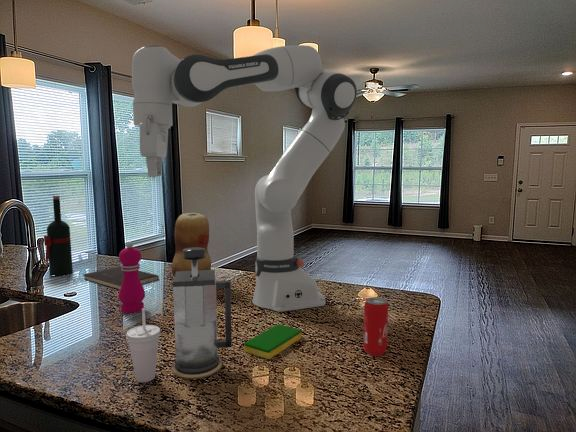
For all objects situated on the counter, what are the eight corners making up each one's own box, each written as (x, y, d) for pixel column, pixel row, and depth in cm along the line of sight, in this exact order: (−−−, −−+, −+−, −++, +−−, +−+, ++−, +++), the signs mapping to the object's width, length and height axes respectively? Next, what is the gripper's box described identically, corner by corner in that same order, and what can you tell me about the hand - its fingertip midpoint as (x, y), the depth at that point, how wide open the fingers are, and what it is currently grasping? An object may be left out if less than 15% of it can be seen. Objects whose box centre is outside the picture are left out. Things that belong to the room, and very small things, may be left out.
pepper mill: (137, 315, 117) (133, 245, 114) (113, 313, 118) (110, 244, 116) (150, 306, 124) (147, 240, 121) (128, 305, 125) (125, 239, 123)
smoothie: (165, 369, 86) (163, 304, 85) (157, 385, 80) (154, 315, 78) (134, 369, 86) (131, 304, 84) (123, 386, 80) (119, 315, 78)
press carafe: (230, 352, 94) (229, 267, 92) (233, 375, 84) (231, 280, 81) (173, 357, 92) (170, 270, 89) (169, 381, 82) (165, 284, 79)
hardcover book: (119, 291, 140) (119, 285, 140) (83, 280, 154) (82, 274, 153) (159, 280, 153) (158, 274, 153) (122, 271, 167) (121, 265, 166)
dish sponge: (243, 353, 95) (243, 342, 95) (278, 332, 106) (278, 323, 106) (268, 361, 91) (268, 350, 91) (302, 339, 102) (302, 329, 102)
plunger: (210, 311, 90) (209, 246, 88) (210, 321, 84) (209, 252, 82) (181, 312, 89) (179, 247, 87) (179, 323, 83) (177, 253, 81)
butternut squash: (192, 291, 139) (190, 216, 136) (164, 285, 146) (161, 214, 143) (219, 281, 151) (218, 212, 148) (192, 276, 158) (190, 210, 155)
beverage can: (370, 344, 98) (371, 295, 97) (390, 350, 95) (392, 300, 94) (359, 352, 94) (360, 301, 93) (380, 359, 91) (381, 306, 90)
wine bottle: (39, 276, 157) (33, 196, 154) (65, 270, 166) (60, 194, 162) (51, 278, 153) (45, 197, 150) (77, 272, 162) (72, 195, 158)
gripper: (162, 113, 89) (164, 178, 91) (170, 122, 109) (172, 175, 111) (130, 112, 88) (133, 178, 90) (145, 121, 108) (147, 175, 110)
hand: (155, 176), depth 100 cm, fingers open, 8 cm apart
